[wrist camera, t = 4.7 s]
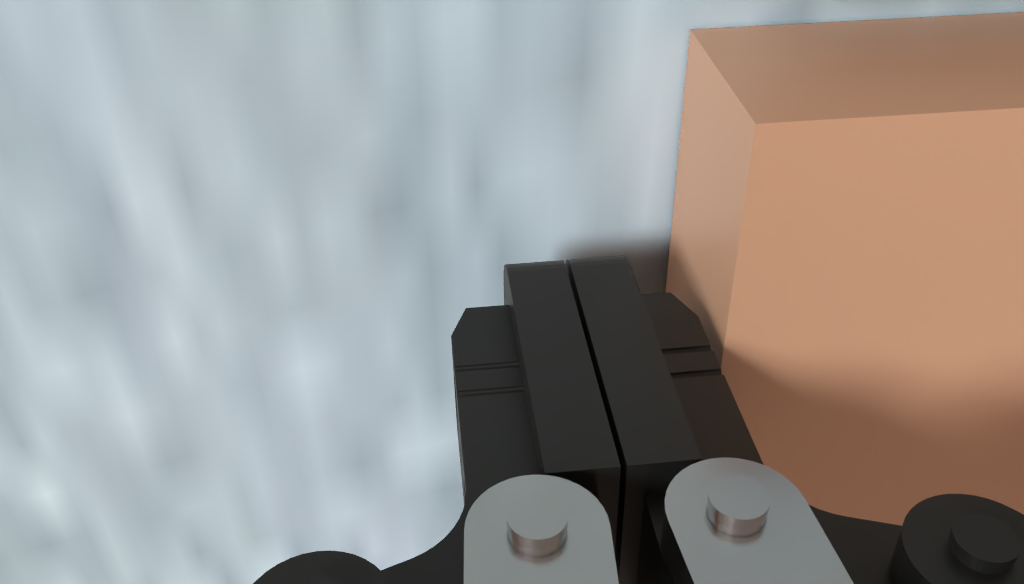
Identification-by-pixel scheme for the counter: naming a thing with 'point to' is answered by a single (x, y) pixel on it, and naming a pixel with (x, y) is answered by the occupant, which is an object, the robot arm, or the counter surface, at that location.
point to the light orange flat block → (862, 251)
